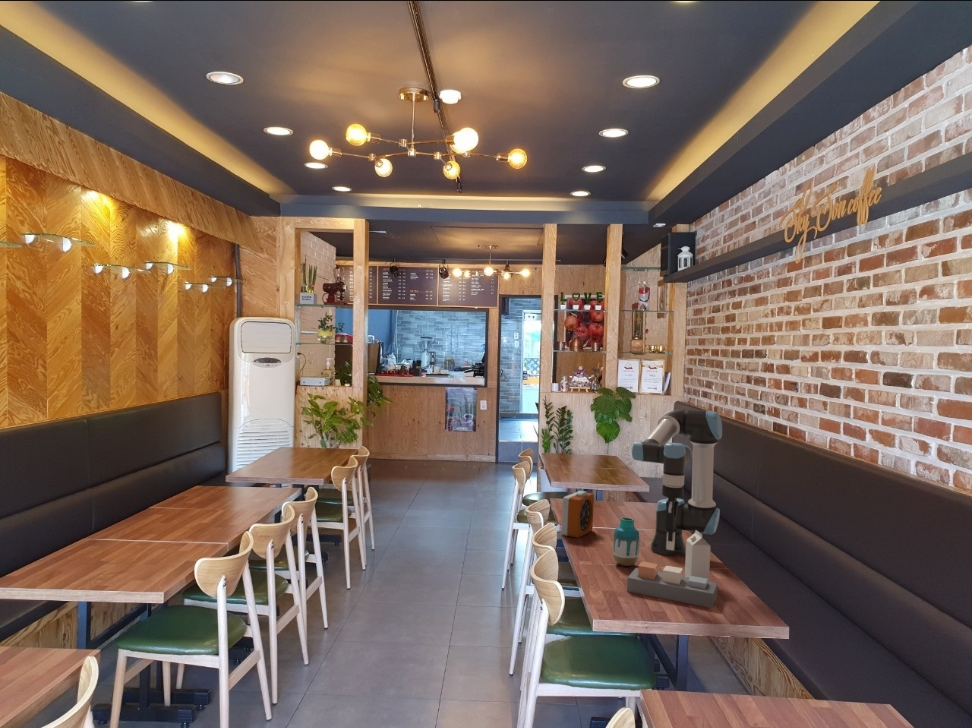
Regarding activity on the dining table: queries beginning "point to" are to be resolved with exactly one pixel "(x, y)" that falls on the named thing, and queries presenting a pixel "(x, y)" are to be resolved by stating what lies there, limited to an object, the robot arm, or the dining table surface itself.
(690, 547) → the milk carton
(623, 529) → the vase
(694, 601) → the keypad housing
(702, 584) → the key slate
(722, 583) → the dining table surface
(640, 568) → the key rust
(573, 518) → the alarm clock
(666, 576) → the key ivory
